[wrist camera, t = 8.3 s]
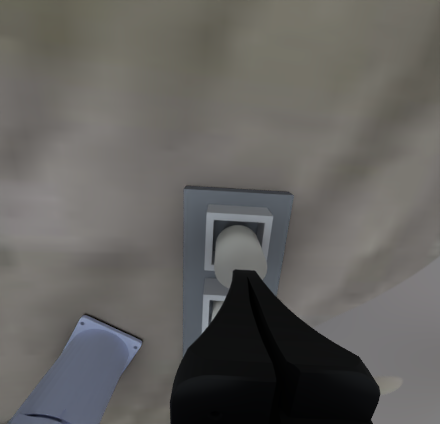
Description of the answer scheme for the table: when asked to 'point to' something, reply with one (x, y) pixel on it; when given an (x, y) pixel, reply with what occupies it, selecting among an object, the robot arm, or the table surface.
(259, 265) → the knob
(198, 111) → the table surface
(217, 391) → the robot arm
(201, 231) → the control panel
